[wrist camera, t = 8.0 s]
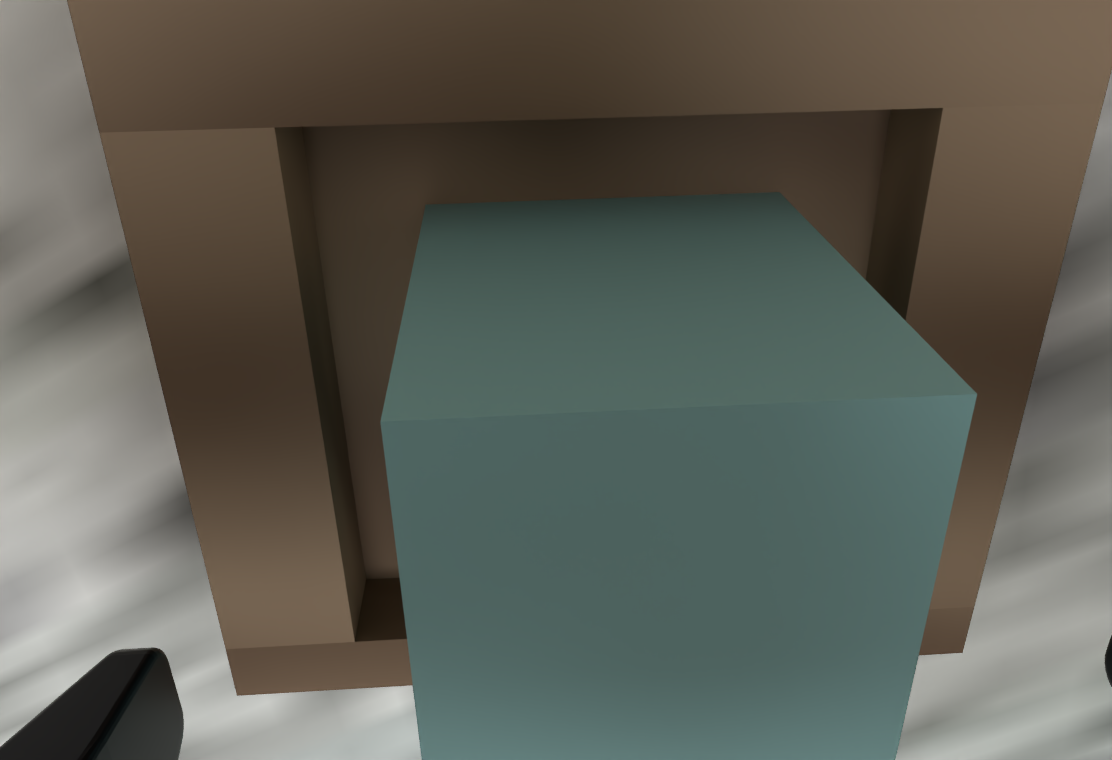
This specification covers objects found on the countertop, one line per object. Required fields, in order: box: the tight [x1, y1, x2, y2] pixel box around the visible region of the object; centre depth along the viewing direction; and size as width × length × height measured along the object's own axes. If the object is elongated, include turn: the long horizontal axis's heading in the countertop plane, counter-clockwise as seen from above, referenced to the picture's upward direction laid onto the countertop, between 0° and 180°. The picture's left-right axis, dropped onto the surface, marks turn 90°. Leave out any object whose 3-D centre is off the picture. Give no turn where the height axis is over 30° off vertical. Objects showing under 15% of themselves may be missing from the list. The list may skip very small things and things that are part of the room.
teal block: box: [380, 192, 977, 760], centre depth 11 cm, size 5×5×6 cm
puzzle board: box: [67, 0, 1112, 696], centre depth 11 cm, size 18×12×5 cm, turn 1°
